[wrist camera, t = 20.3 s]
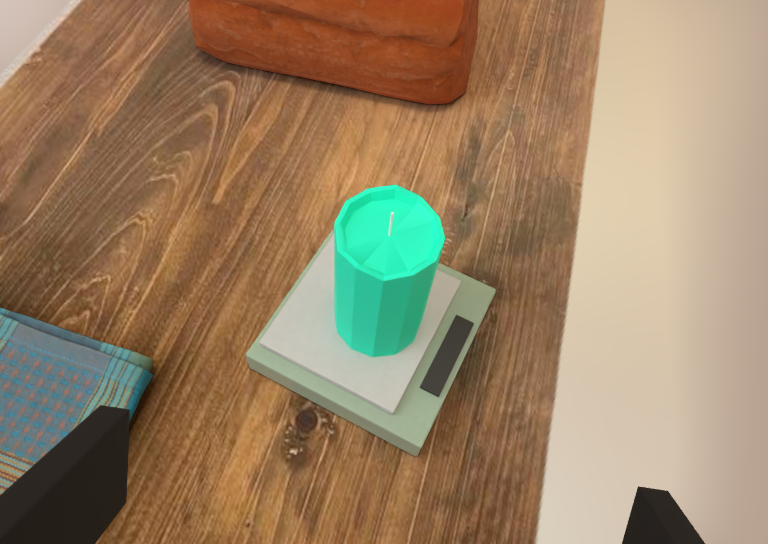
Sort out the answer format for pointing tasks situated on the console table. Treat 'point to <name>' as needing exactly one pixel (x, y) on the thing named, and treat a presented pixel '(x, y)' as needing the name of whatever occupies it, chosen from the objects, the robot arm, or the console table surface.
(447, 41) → the bread
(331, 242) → the scale
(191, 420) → the console table surface
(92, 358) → the dish towel
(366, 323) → the candle
